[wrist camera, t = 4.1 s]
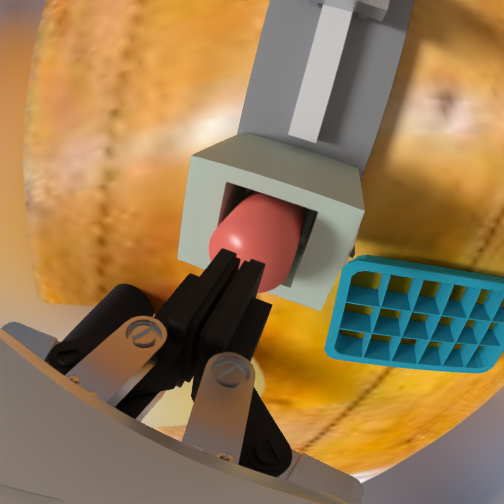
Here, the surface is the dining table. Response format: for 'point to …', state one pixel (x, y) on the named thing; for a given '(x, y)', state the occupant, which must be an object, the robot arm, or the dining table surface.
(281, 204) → the button
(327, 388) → the dining table surface
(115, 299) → the wine bottle
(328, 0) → the carriage
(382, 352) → the ice cube tray
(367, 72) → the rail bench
